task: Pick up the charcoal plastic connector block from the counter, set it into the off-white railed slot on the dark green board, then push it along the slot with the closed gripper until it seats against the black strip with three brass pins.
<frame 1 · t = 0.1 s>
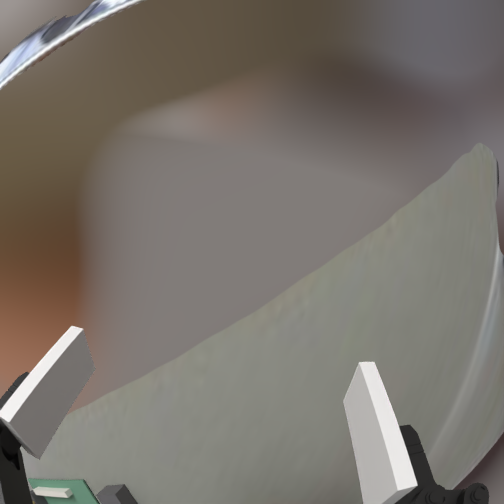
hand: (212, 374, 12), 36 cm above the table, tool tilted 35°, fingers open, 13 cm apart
plug: (122, 496, 37), on the table
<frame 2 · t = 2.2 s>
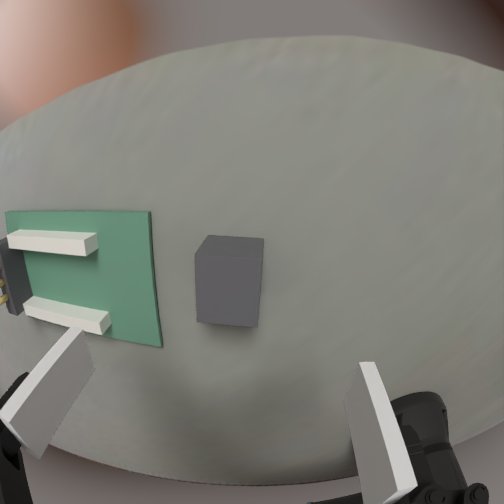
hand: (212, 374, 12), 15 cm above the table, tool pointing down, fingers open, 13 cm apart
header board: (72, 274, 28), on the table
plug: (234, 267, 27), on the table
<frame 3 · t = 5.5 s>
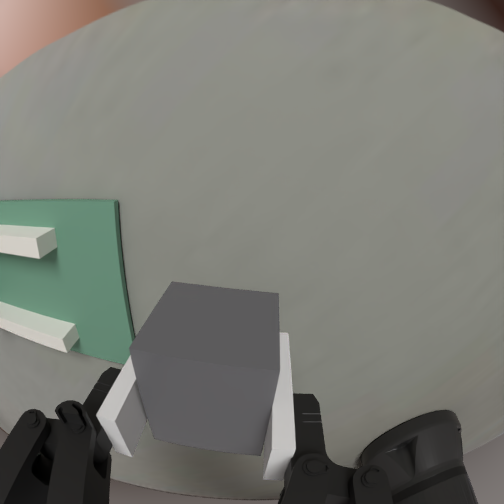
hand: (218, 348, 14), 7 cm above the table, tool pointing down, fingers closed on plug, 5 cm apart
header board: (32, 277, 21), on the table
plug: (222, 338, 14), point 6 cm above the table, touching gripper
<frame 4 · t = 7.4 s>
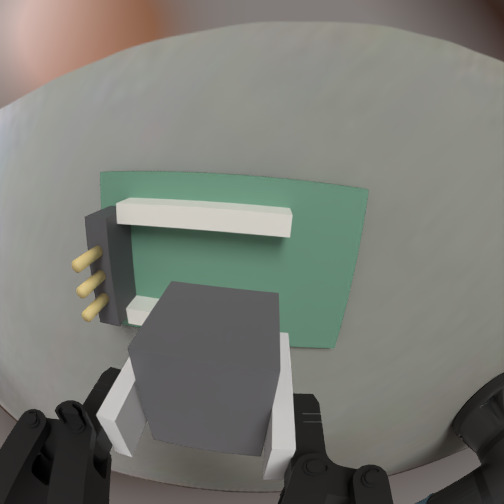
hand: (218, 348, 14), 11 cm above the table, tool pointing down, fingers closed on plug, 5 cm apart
header board: (222, 264, 24), on the table
plug: (222, 338, 14), point 10 cm above the table, touching gripper
when the fingers open (1 cm above the table, at t = 9.3 s): plug stays where it is, resting on header board.
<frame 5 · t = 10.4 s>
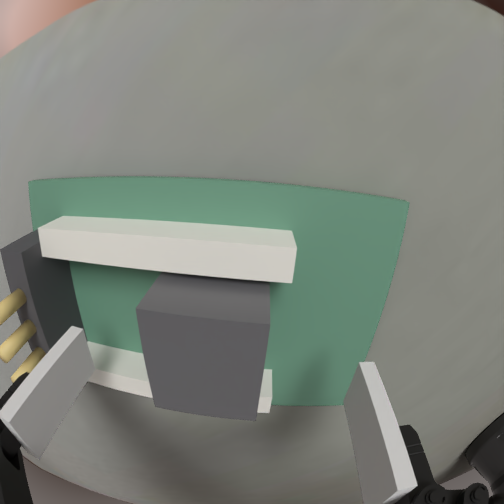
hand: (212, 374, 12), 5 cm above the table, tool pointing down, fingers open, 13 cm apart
header board: (193, 308, 16), on the table
plug: (218, 311, 16), point 1 cm above the table, touching header board
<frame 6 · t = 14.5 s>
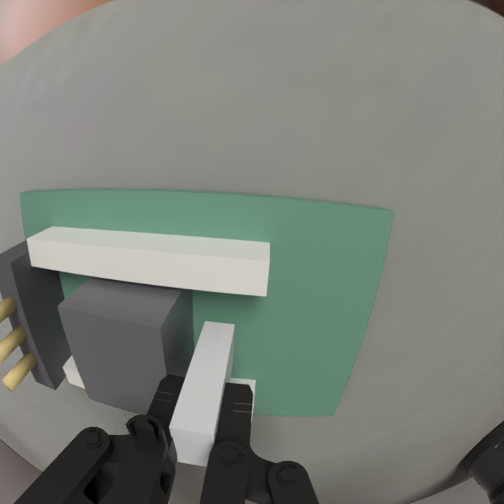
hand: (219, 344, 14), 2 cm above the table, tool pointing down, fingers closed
header board: (176, 318, 16), on the table
plug: (151, 314, 16), point 1 cm above the table, touching gripper
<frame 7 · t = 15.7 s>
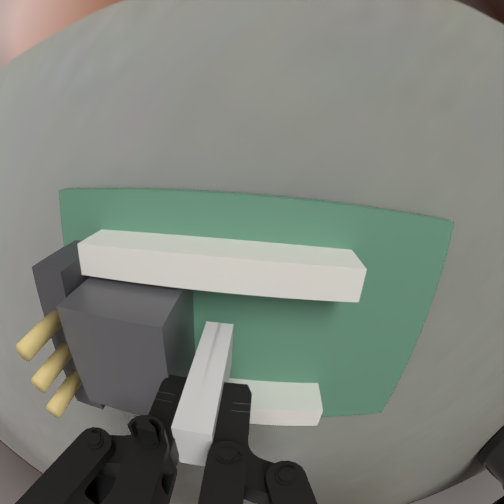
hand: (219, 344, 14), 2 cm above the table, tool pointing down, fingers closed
header board: (244, 326, 16), on the table
plug: (152, 314, 16), point 1 cm above the table, touching gripper, header board
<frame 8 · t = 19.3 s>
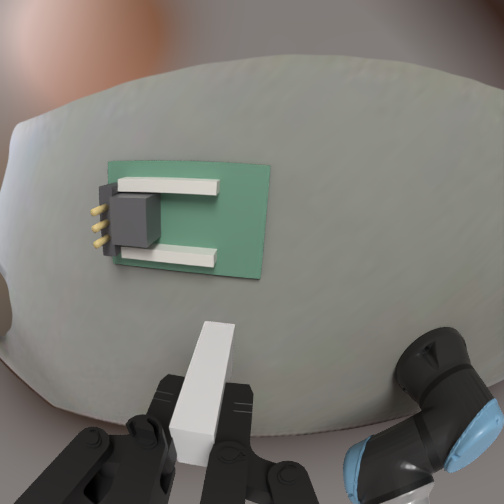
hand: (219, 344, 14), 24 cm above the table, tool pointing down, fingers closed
header board: (181, 217, 37), on the table
plug: (143, 212, 37), point 1 cm above the table, touching header board
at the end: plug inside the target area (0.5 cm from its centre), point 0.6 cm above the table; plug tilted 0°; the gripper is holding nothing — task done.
